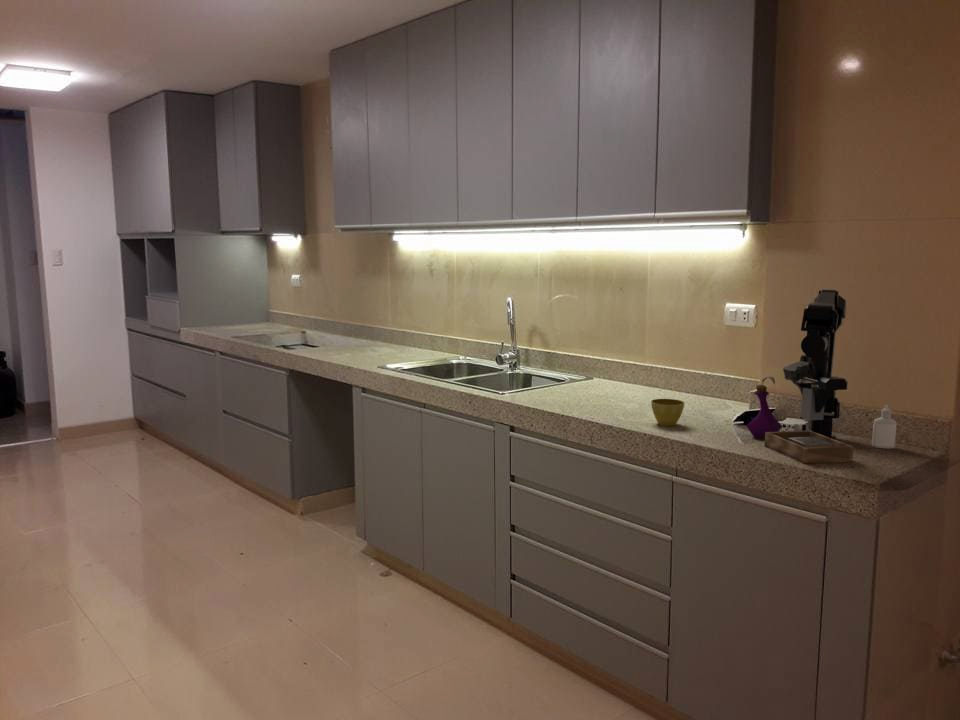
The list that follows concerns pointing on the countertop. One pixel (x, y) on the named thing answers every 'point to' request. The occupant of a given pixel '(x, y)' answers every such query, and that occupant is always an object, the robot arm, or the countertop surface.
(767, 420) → the perfume bottle
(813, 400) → the grey box with knob
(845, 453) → the walnut box
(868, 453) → the countertop surface
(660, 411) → the flower pot
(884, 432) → the eye dropper bottle
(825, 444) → the collar
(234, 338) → the countertop surface
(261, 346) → the countertop surface
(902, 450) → the countertop surface
